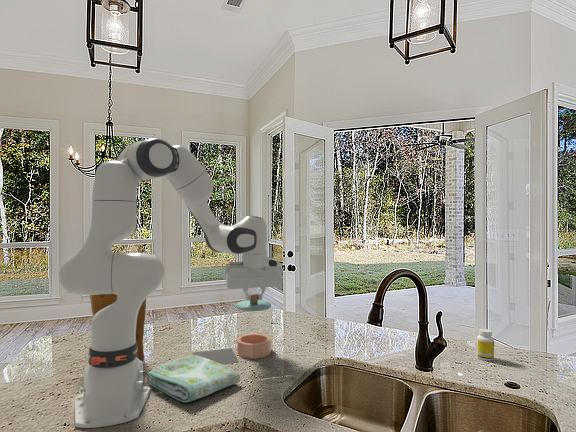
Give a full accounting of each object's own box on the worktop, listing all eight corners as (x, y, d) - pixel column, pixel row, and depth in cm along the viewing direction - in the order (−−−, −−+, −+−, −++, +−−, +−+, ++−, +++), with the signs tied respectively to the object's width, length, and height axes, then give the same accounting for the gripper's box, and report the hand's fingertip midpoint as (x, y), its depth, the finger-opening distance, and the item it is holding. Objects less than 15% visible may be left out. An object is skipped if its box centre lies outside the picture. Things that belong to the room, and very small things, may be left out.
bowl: (274, 357, 135) (274, 342, 135) (240, 360, 131) (240, 346, 131) (265, 345, 146) (265, 332, 146) (234, 349, 142) (234, 335, 142)
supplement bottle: (496, 361, 132) (496, 333, 132) (479, 360, 133) (479, 332, 133) (491, 356, 138) (491, 328, 137) (474, 354, 139) (475, 327, 139)
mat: (239, 363, 129) (239, 362, 129) (195, 368, 124) (195, 367, 124) (231, 349, 142) (231, 348, 142) (192, 353, 138) (192, 352, 138)
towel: (195, 365, 126) (195, 349, 126) (241, 384, 113) (241, 367, 112) (144, 384, 112) (144, 366, 112) (189, 409, 99) (189, 389, 98)
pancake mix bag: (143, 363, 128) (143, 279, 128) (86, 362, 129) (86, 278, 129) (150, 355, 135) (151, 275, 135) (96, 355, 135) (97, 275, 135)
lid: (275, 309, 135) (275, 297, 135) (240, 312, 131) (240, 299, 131) (265, 301, 147) (265, 289, 147) (233, 303, 143) (233, 291, 142)
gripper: (227, 263, 132) (226, 303, 132) (283, 261, 139) (283, 300, 139) (224, 261, 138) (223, 299, 138) (278, 259, 145) (278, 296, 145)
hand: (254, 299), depth 139 cm, fingers closed on lid, 3 cm apart
